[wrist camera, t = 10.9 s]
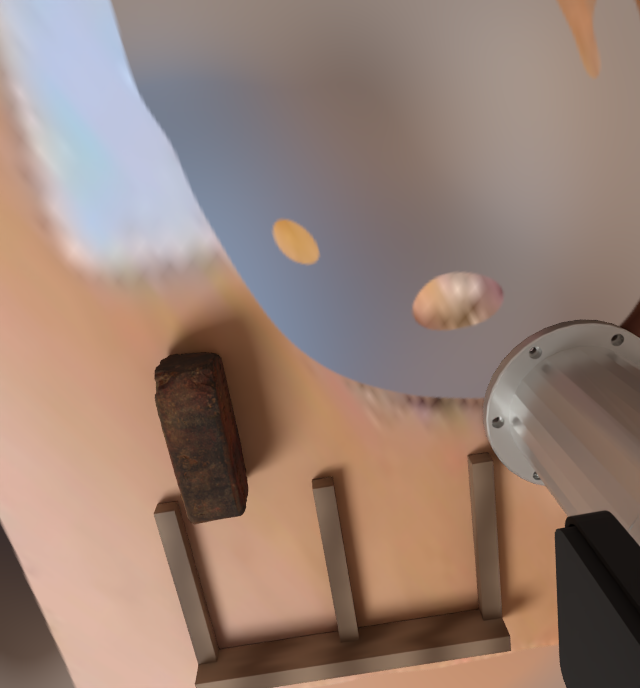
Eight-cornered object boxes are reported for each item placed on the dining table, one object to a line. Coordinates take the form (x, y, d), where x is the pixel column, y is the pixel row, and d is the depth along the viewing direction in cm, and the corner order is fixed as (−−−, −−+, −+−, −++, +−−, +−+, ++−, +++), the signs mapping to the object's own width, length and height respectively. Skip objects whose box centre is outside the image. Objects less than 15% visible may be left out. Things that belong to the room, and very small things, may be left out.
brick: (251, 478, 43) (247, 518, 38) (198, 487, 43) (187, 527, 38) (220, 344, 39) (211, 370, 35) (162, 353, 39) (145, 381, 35)
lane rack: (487, 452, 43) (501, 474, 40) (498, 620, 48) (510, 650, 45) (157, 504, 43) (147, 530, 40) (204, 665, 48) (199, 698, 45)
